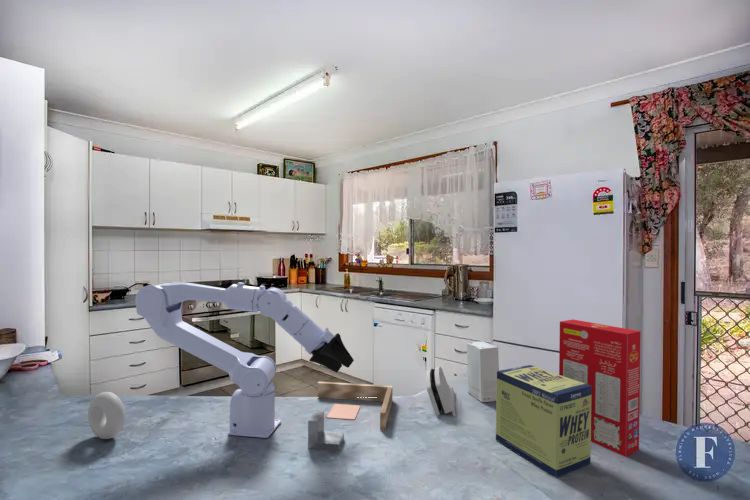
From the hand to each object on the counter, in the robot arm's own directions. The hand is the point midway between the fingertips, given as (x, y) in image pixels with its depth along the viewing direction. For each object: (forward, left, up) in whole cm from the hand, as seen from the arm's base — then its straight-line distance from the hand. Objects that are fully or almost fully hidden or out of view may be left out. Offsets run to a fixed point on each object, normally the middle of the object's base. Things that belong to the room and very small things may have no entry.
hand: (344, 366), depth 88 cm
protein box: (+43, -4, -15) cm, 45 cm away
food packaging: (+57, +4, -15) cm, 59 cm away
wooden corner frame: (-1, +8, -14) cm, 17 cm away
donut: (-50, -13, -15) cm, 54 cm away
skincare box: (+35, +24, -15) cm, 45 cm away
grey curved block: (+23, +18, -15) cm, 33 cm away
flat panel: (-2, +8, -14) cm, 17 cm away
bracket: (-2, -8, -14) cm, 16 cm away
